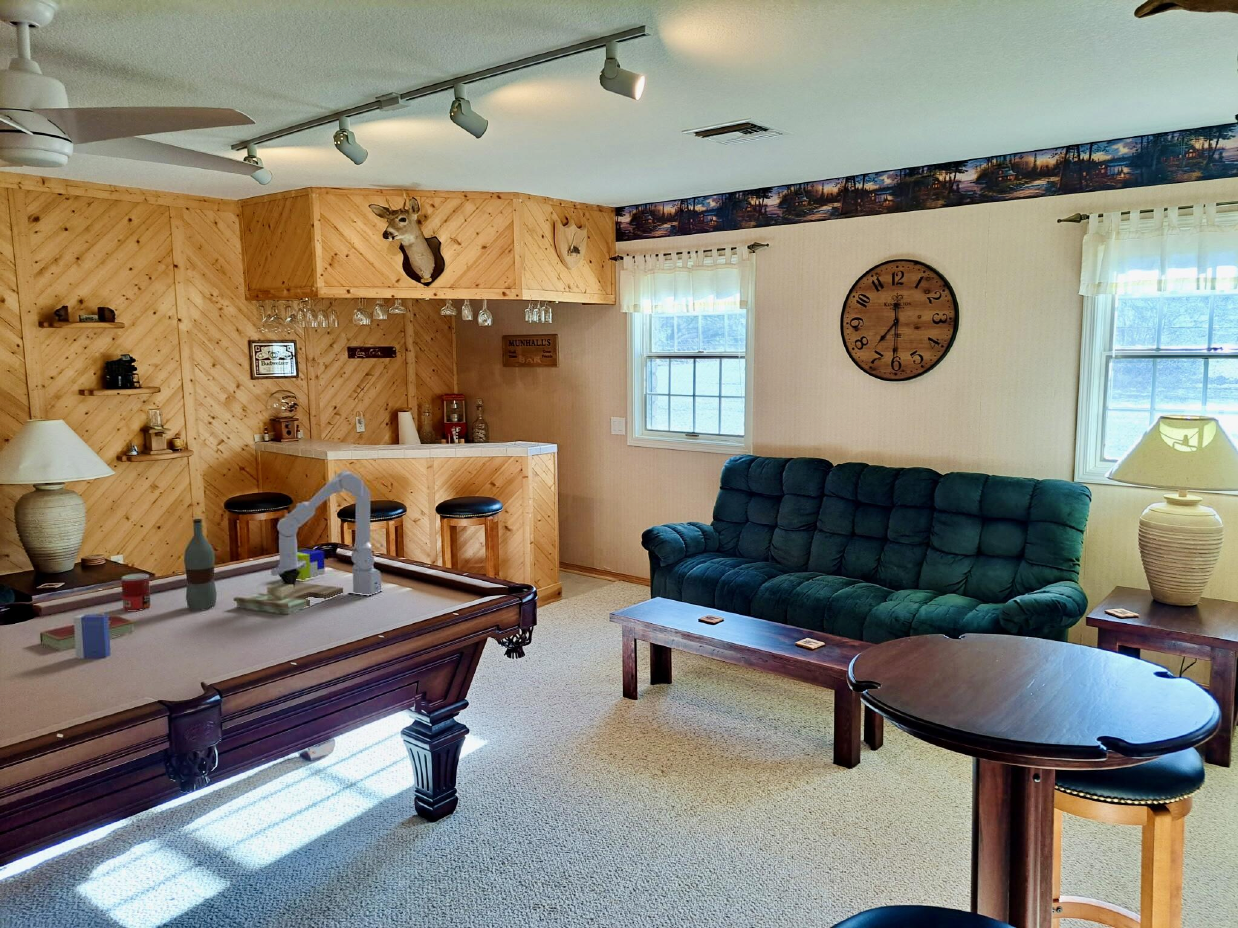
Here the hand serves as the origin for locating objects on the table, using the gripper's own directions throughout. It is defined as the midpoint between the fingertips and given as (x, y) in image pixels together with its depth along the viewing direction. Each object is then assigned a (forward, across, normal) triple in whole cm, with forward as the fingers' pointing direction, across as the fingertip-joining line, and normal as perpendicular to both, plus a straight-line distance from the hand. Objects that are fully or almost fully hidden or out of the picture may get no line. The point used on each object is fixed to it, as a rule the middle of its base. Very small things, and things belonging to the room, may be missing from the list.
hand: (289, 591), depth 292 cm
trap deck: (+3, 0, 0) cm, 3 cm away
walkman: (+4, +65, -10) cm, 66 cm away
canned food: (+4, +26, -41) cm, 49 cm away
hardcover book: (+4, +54, -26) cm, 60 cm away
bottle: (+4, +17, -22) cm, 28 cm away
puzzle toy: (+4, -29, -19) cm, 35 cm away
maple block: (+1, +4, 0) cm, 5 cm away
